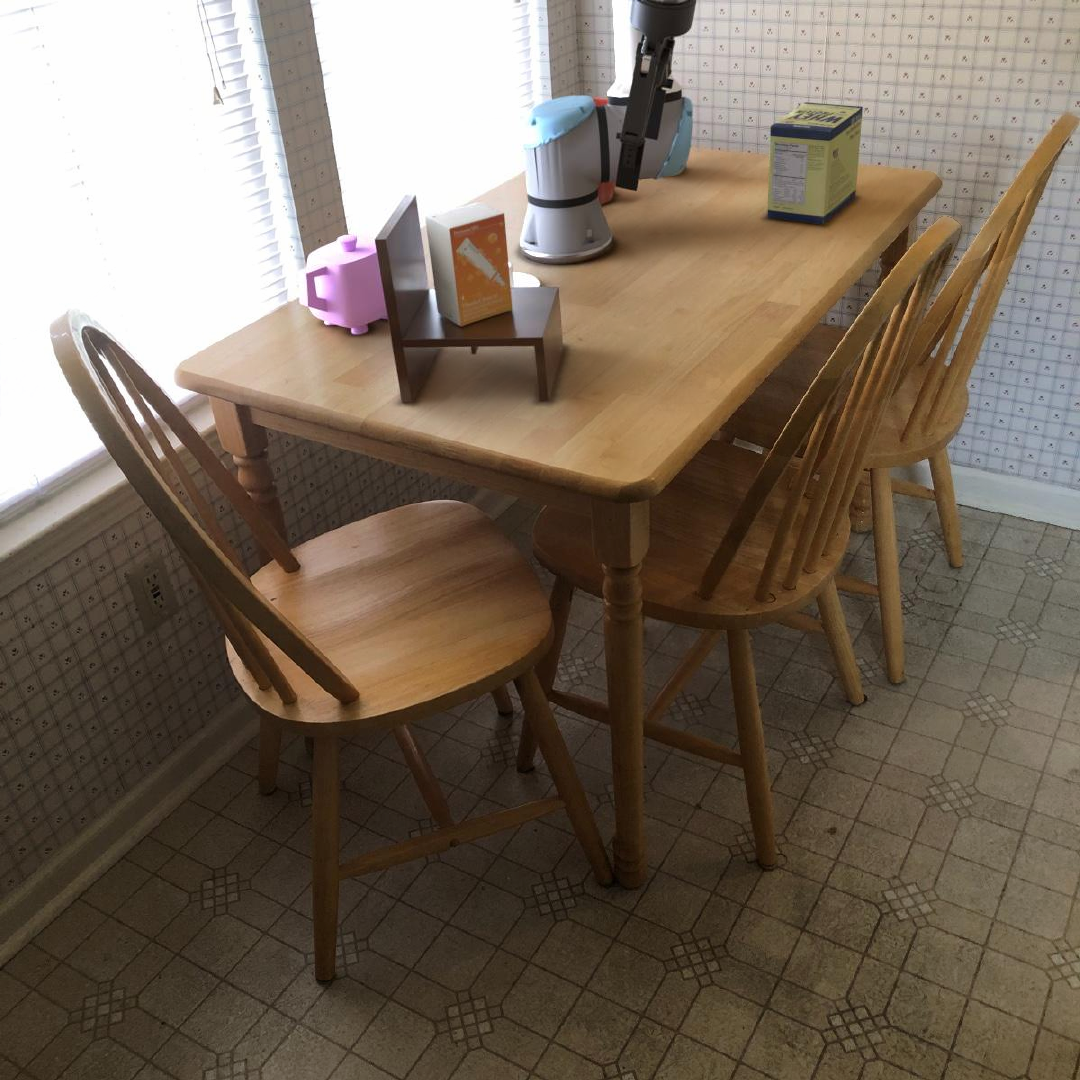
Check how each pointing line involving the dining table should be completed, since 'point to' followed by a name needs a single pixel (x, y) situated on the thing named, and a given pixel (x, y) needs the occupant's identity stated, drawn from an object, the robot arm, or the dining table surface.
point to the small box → (469, 263)
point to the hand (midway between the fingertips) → (637, 161)
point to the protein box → (813, 162)
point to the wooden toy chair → (426, 329)
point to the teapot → (344, 283)
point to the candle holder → (522, 279)
